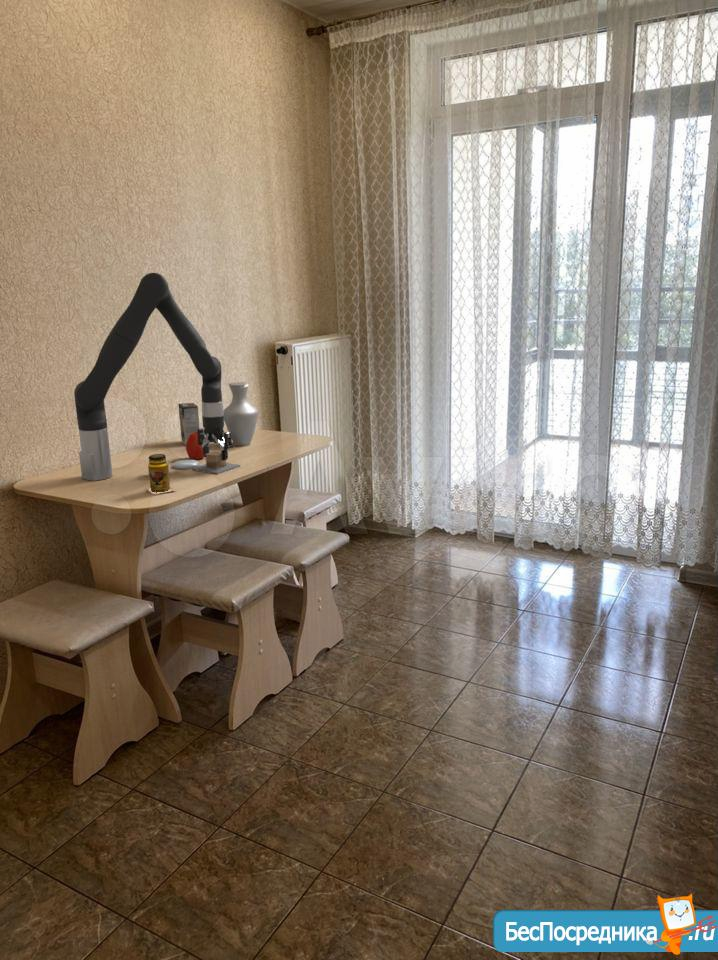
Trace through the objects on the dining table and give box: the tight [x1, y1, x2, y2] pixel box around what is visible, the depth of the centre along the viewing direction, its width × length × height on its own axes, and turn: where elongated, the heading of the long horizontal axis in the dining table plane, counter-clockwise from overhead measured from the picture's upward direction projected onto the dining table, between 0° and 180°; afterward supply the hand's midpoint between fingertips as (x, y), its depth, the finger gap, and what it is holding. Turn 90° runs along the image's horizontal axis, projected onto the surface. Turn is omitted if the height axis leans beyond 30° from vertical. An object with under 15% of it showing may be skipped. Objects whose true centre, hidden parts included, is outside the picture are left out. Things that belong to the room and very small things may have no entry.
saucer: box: [173, 459, 200, 470], centre depth 261 cm, size 9×9×1 cm
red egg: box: [185, 432, 205, 460], centre depth 270 cm, size 8×8×11 cm
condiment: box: [147, 453, 171, 493], centre depth 230 cm, size 7×8×12 cm
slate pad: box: [191, 462, 241, 475], centre depth 257 cm, size 12×12×1 cm
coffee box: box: [177, 402, 200, 446], centre depth 294 cm, size 9×6×16 cm
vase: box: [223, 381, 259, 447], centre depth 290 cm, size 14×14×25 cm
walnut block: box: [205, 450, 227, 469], centre depth 256 cm, size 5×5×5 cm
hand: (215, 458), depth 256 cm, fingers open, 8 cm apart
